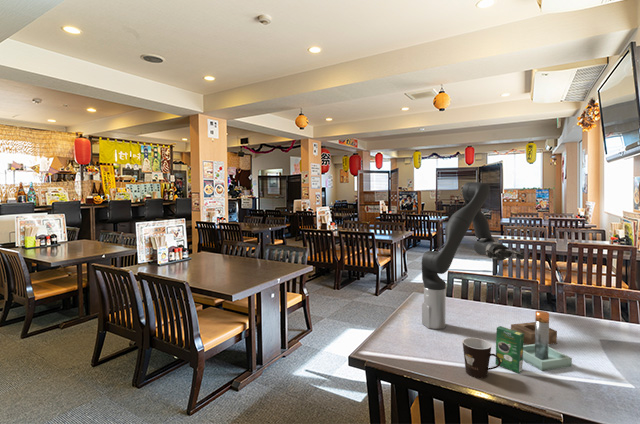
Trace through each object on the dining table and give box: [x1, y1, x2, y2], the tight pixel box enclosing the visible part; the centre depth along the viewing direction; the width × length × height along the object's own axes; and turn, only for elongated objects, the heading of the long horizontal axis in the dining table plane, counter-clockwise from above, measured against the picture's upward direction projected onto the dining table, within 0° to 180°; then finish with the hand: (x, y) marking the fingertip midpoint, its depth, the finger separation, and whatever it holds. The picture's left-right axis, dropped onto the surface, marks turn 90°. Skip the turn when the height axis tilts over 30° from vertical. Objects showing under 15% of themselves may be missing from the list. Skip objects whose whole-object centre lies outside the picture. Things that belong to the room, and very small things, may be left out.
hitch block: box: [510, 321, 558, 346], centre depth 136 cm, size 12×10×5 cm
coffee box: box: [495, 325, 524, 374], centre depth 114 cm, size 8×3×13 cm, turn 35°
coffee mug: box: [462, 337, 501, 379], centre depth 109 cm, size 12×9×10 cm
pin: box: [534, 310, 550, 360], centre depth 119 cm, size 4×4×16 cm
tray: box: [523, 344, 573, 372], centre depth 119 cm, size 12×12×3 cm
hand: (511, 257), depth 143 cm, fingers open, 8 cm apart
